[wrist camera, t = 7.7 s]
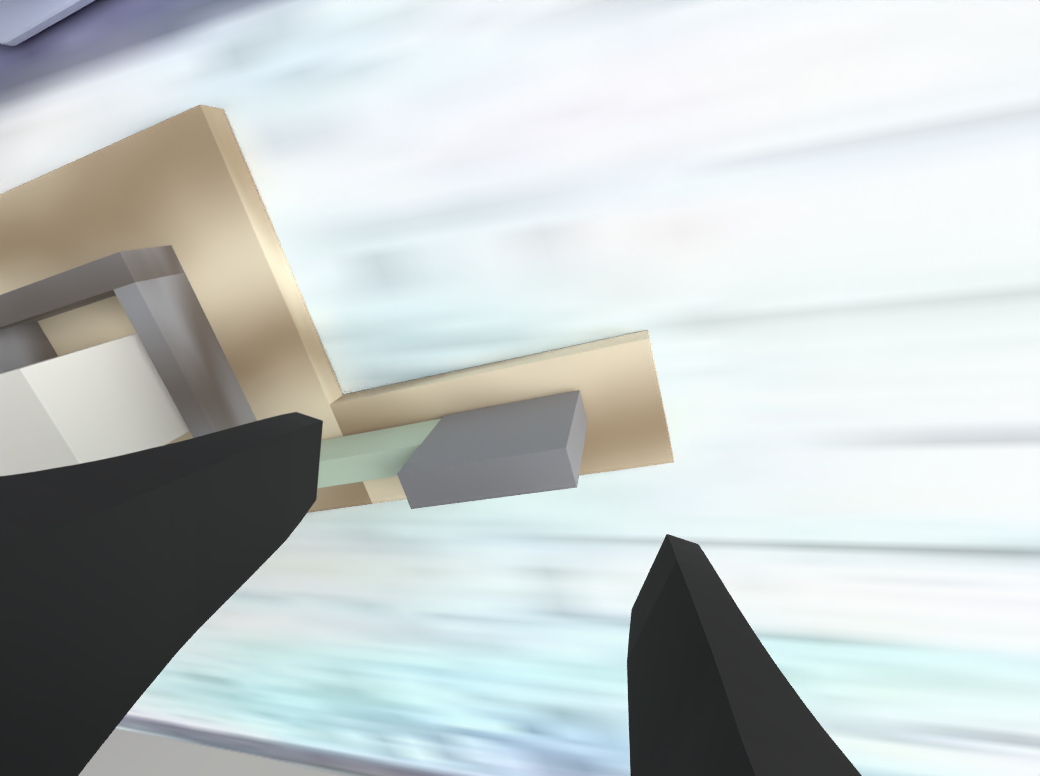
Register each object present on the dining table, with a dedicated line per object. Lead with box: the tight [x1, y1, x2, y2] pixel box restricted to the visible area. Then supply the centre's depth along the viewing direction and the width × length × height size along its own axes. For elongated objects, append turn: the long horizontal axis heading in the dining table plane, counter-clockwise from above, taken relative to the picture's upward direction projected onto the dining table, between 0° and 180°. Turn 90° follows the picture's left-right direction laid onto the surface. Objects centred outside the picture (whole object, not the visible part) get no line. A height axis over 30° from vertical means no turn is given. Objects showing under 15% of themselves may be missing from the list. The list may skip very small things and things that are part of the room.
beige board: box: [0, 105, 674, 513], centre depth 18 cm, size 15×30×3 cm, turn 106°
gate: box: [317, 390, 588, 509], centre depth 17 cm, size 1×14×4 cm, turn 106°
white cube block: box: [0, 333, 189, 476], centre depth 18 cm, size 4×4×5 cm
